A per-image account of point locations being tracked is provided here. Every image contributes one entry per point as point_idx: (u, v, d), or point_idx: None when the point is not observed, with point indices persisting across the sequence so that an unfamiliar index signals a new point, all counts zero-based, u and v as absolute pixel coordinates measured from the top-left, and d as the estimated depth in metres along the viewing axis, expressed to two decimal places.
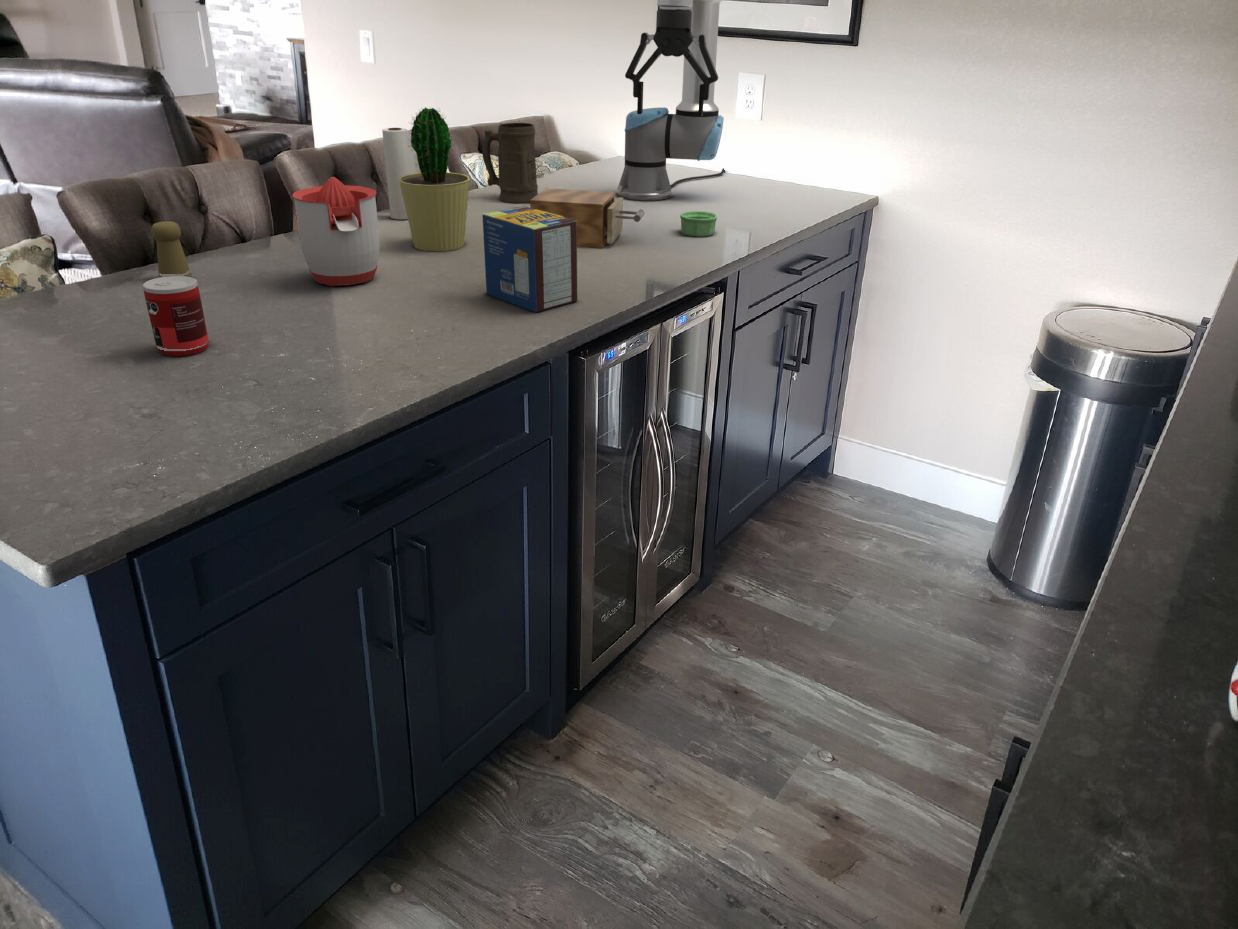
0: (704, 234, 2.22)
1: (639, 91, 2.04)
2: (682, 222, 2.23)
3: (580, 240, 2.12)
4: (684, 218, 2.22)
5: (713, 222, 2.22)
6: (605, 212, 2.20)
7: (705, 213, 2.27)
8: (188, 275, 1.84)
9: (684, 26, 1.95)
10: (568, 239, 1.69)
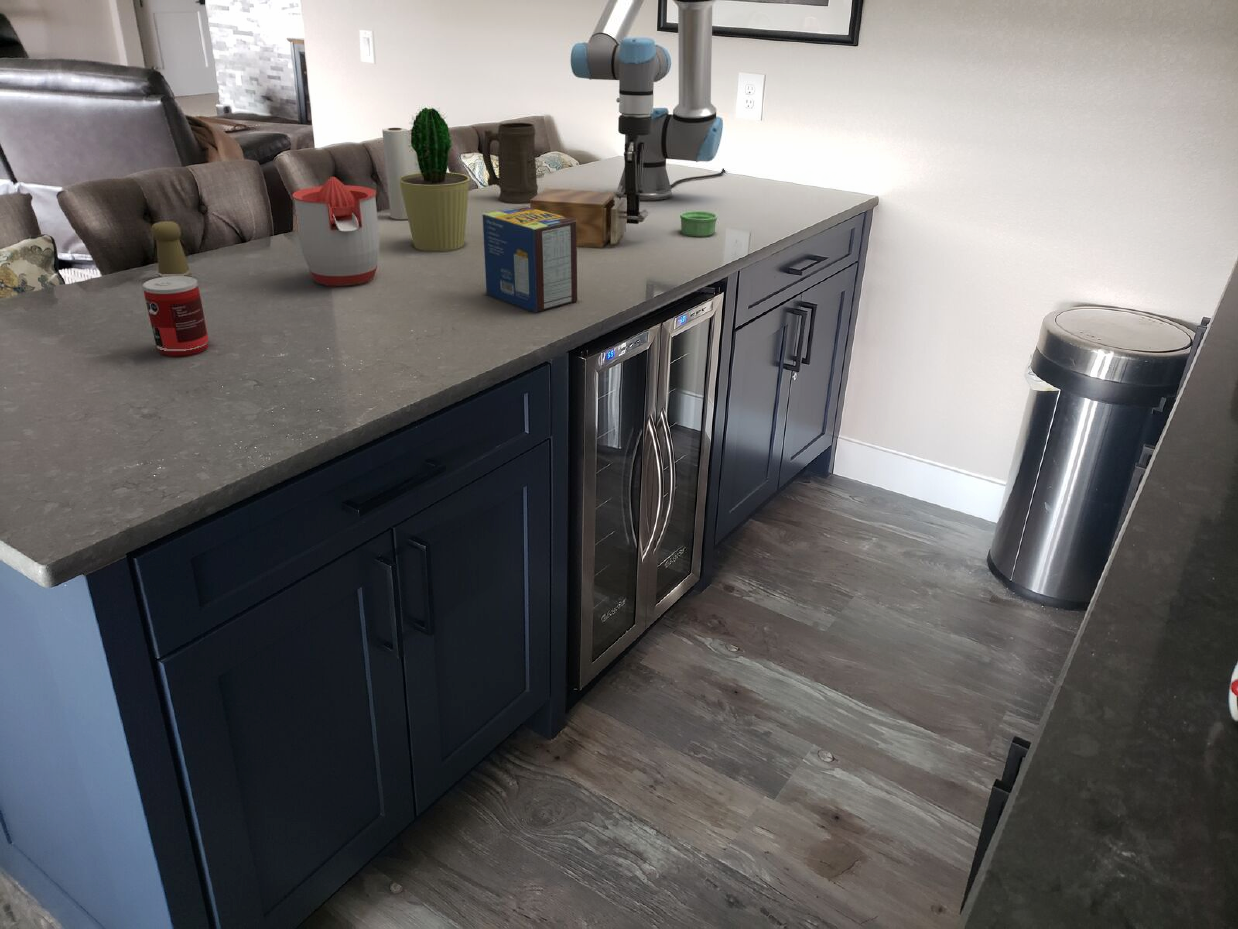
0: (704, 234, 2.22)
1: None
2: (682, 222, 2.23)
3: (580, 240, 2.12)
4: (684, 218, 2.22)
5: (713, 222, 2.22)
6: (608, 212, 2.19)
7: (705, 213, 2.27)
8: (188, 275, 1.84)
9: (621, 131, 2.03)
10: (568, 239, 1.69)
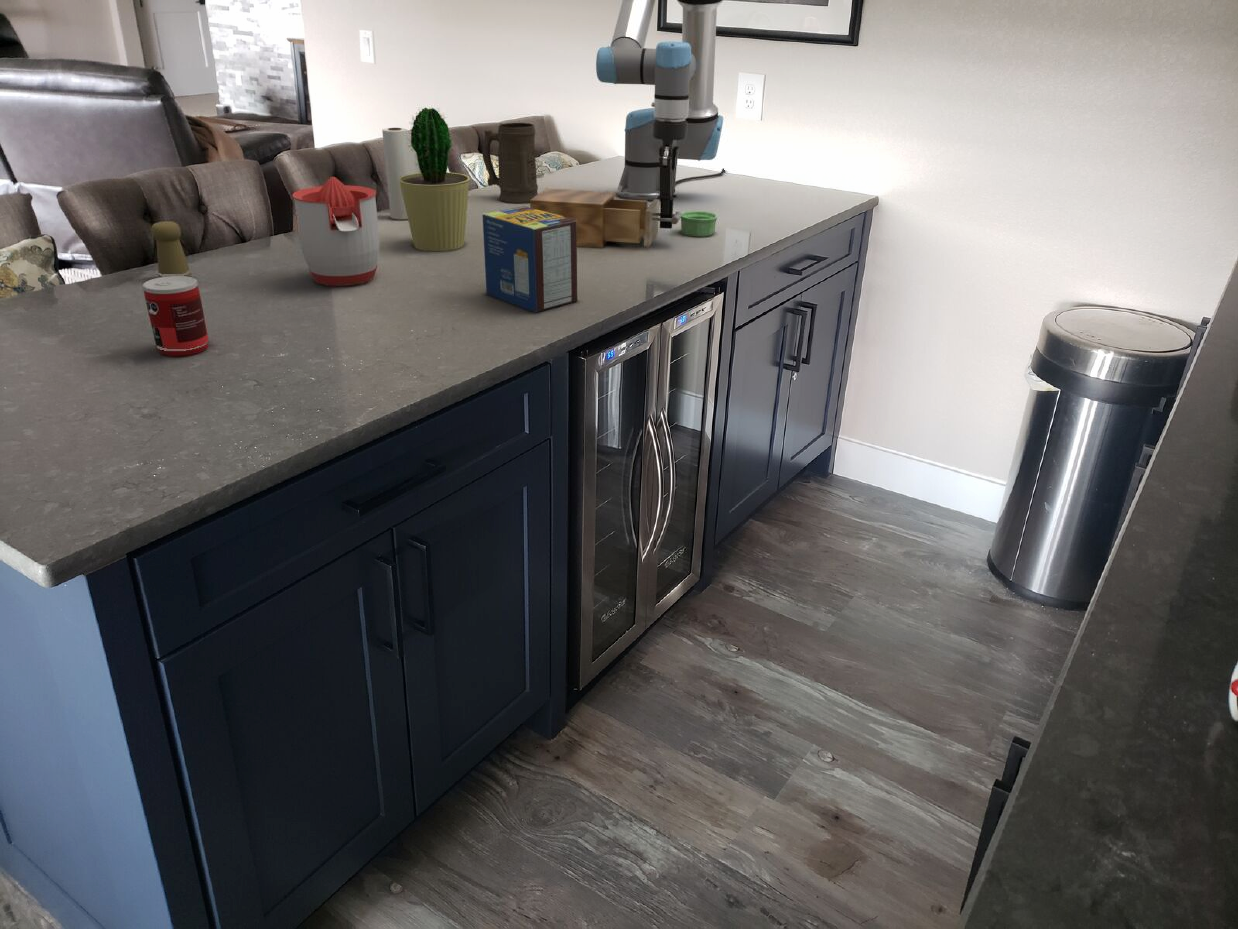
0: (704, 234, 2.22)
1: None
2: (682, 222, 2.23)
3: (580, 240, 2.12)
4: (684, 218, 2.22)
5: (713, 222, 2.22)
6: (641, 214, 2.18)
7: (705, 213, 2.27)
8: (188, 275, 1.84)
9: (656, 136, 2.02)
10: (568, 239, 1.69)
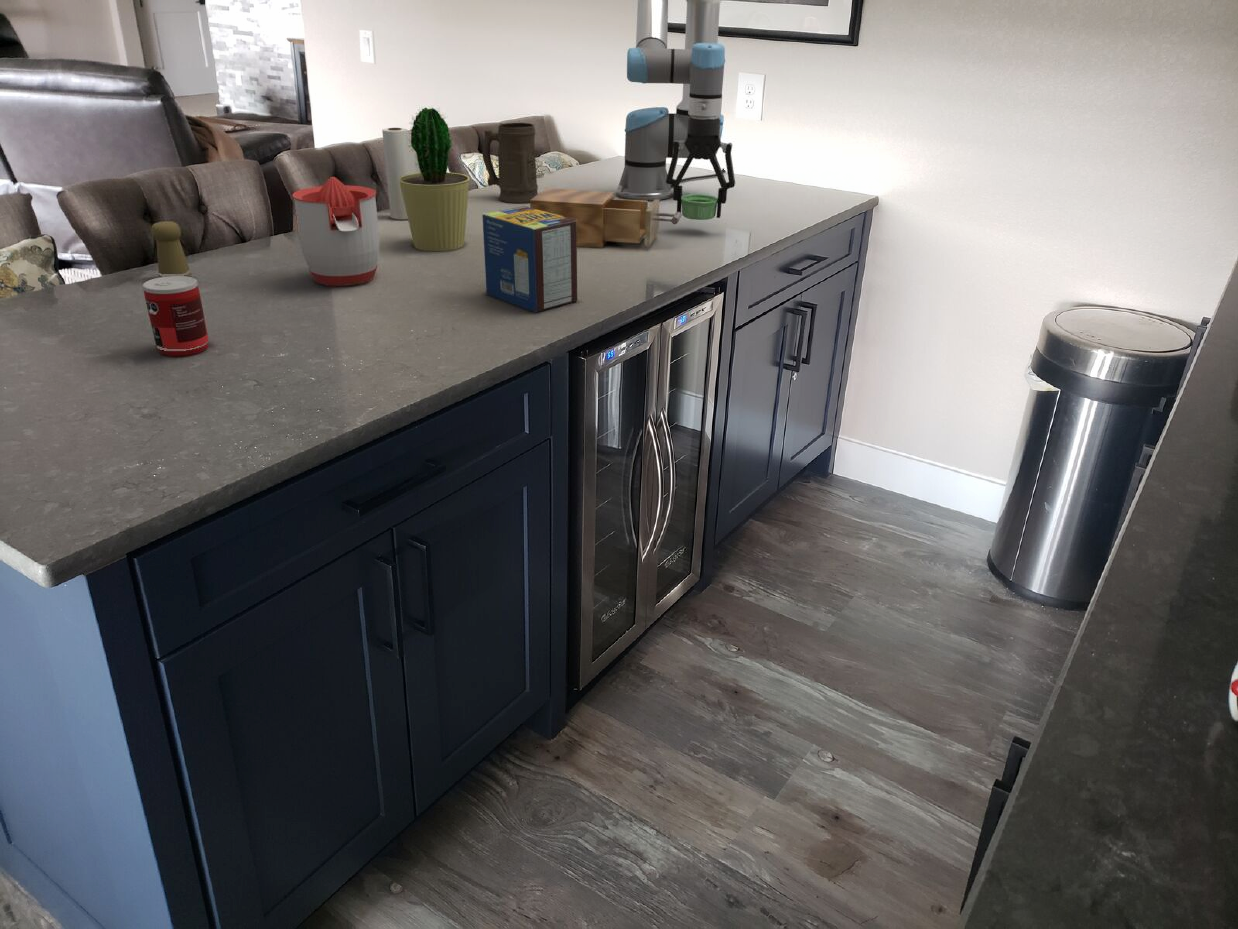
0: (705, 217, 2.21)
1: (679, 195, 2.22)
2: (683, 205, 2.22)
3: (580, 240, 2.12)
4: (685, 201, 2.20)
5: (714, 205, 2.21)
6: (641, 214, 2.18)
7: (706, 196, 2.26)
8: (188, 275, 1.84)
9: (713, 134, 2.12)
10: (568, 239, 1.69)
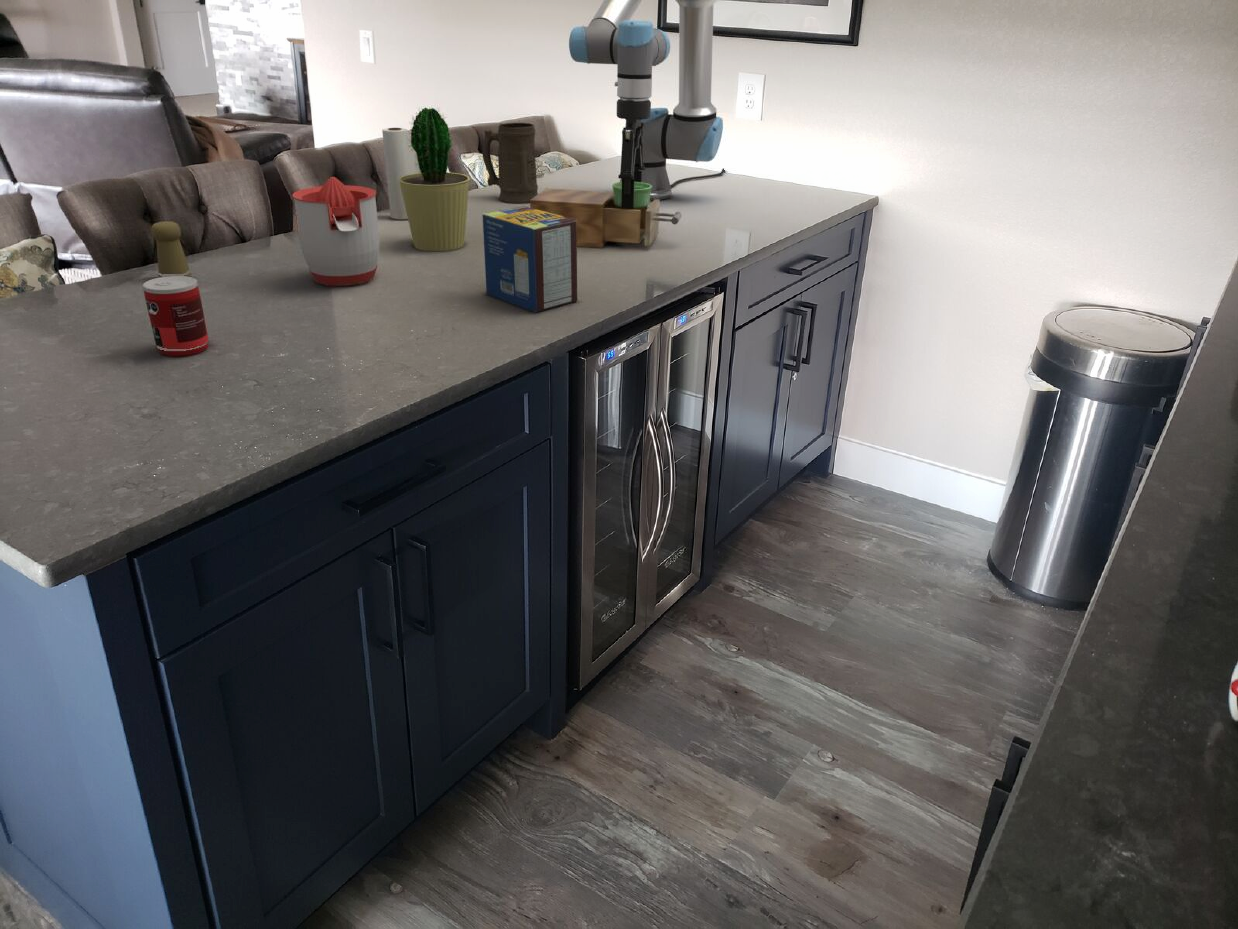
0: (615, 203, 2.11)
1: None
2: None
3: (580, 240, 2.12)
4: None
5: (621, 193, 2.08)
6: (641, 214, 2.18)
7: None
8: (188, 275, 1.84)
9: (619, 115, 2.02)
10: (568, 239, 1.69)
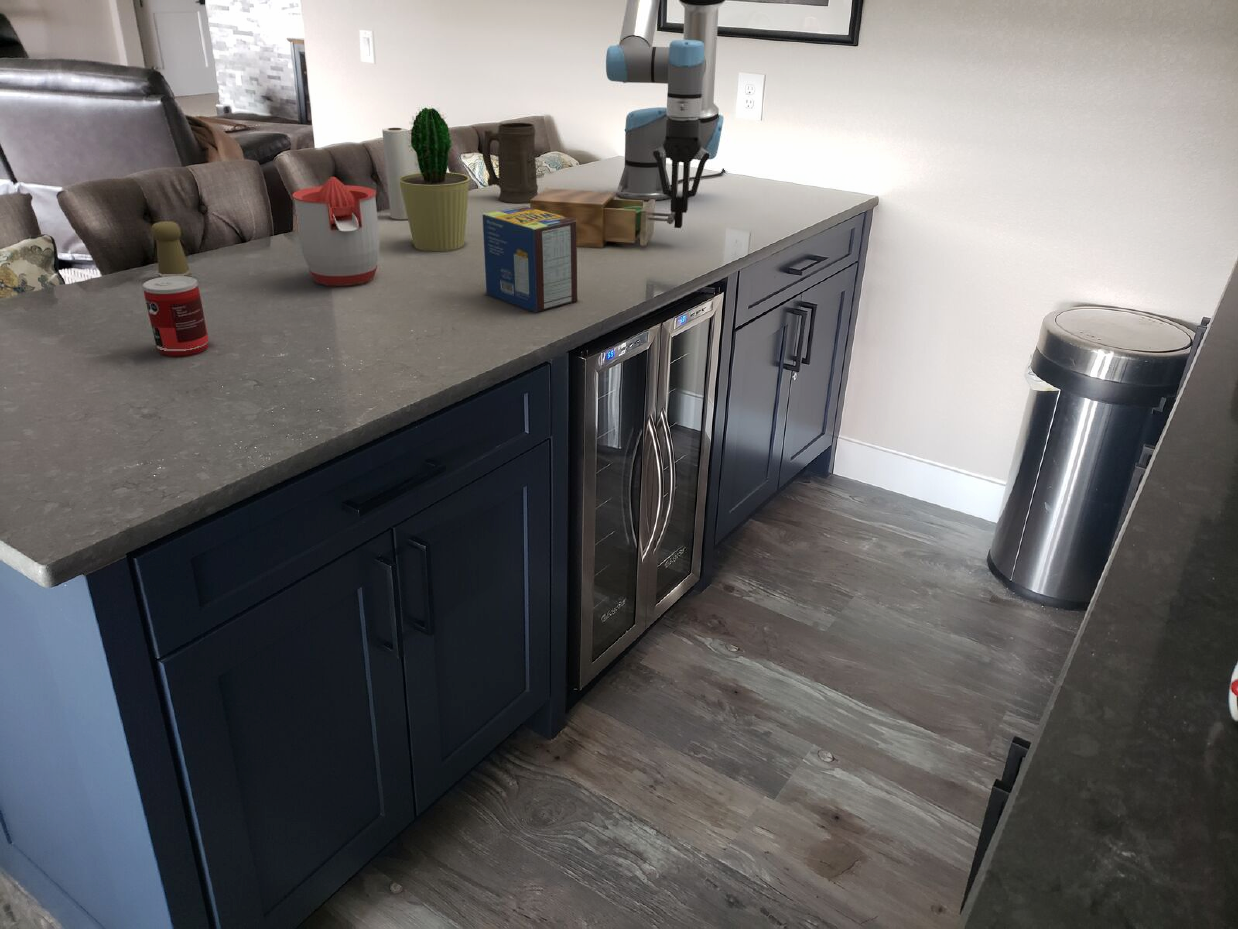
0: None
1: (676, 207, 2.10)
2: None
3: (580, 240, 2.12)
4: None
5: None
6: None
7: None
8: (188, 275, 1.84)
9: (693, 136, 2.01)
10: (568, 239, 1.69)
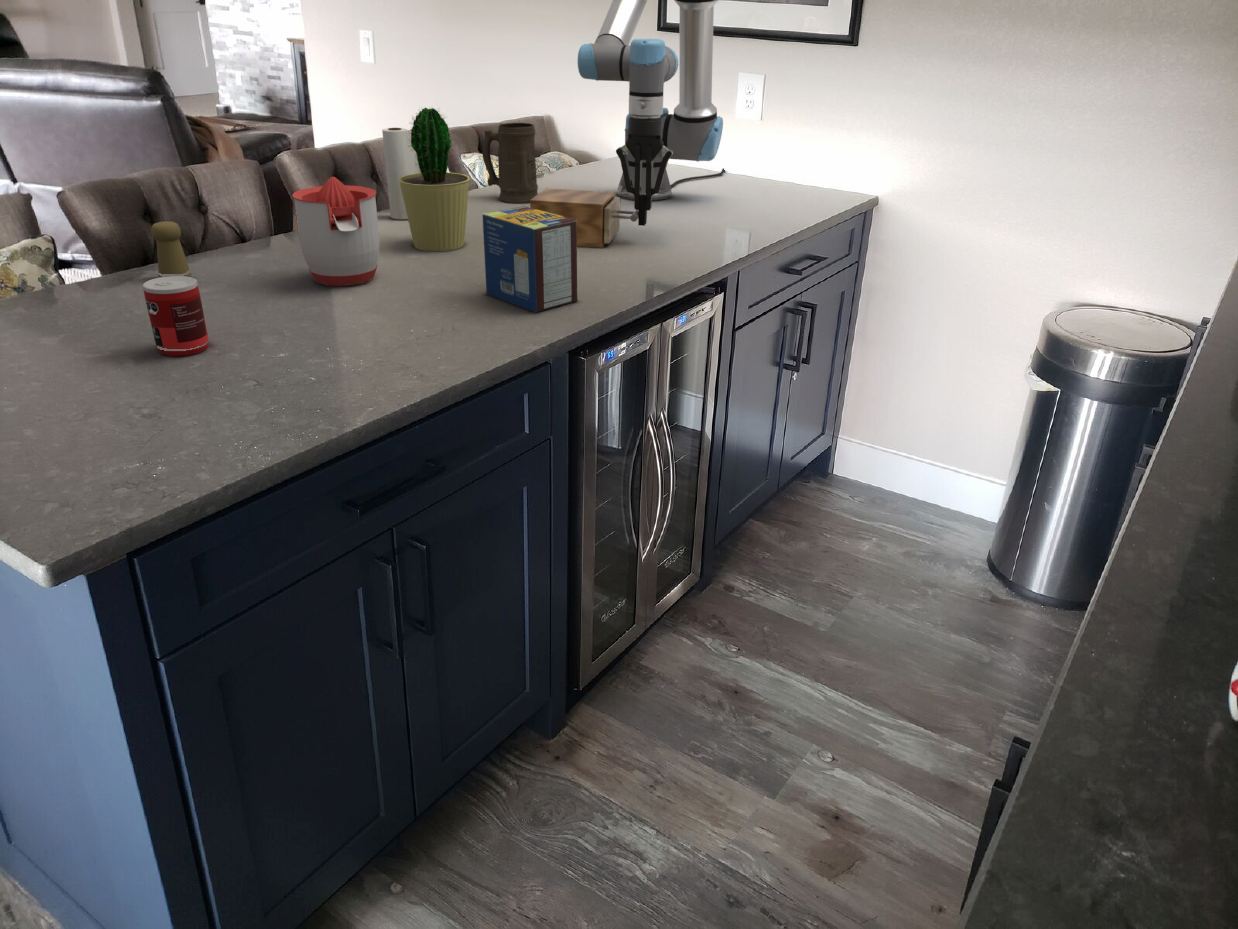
0: None
1: (640, 204, 2.11)
2: None
3: (580, 240, 2.12)
4: None
5: None
6: None
7: None
8: (188, 275, 1.84)
9: (655, 134, 2.02)
10: (568, 239, 1.69)
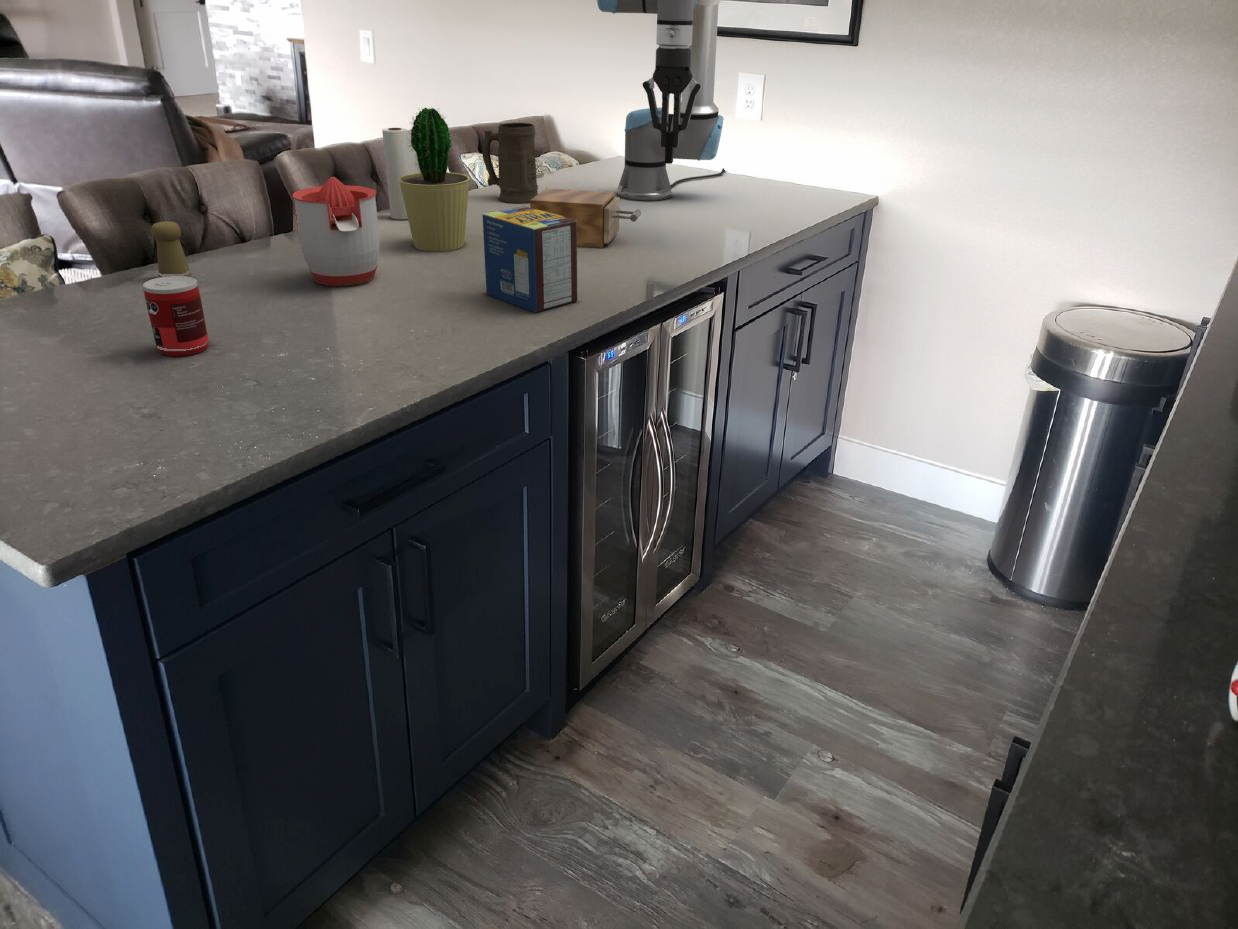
0: None
1: (667, 141, 2.04)
2: None
3: (580, 240, 2.12)
4: None
5: None
6: None
7: None
8: (188, 275, 1.84)
9: (683, 65, 1.95)
10: (568, 239, 1.69)
